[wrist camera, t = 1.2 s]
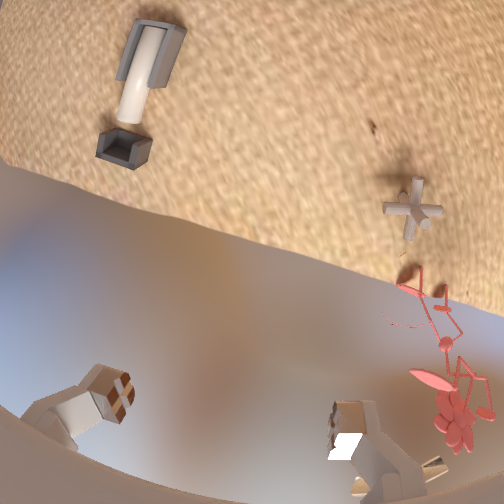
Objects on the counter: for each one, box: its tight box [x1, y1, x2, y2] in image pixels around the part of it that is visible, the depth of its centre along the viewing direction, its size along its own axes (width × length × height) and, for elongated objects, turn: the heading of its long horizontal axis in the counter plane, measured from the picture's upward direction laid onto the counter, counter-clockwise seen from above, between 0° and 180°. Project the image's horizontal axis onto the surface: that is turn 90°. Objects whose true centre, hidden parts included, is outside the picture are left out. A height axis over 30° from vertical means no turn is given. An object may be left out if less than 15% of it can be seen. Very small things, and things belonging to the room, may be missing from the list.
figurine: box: [392, 252, 496, 455], centre depth 40 cm, size 15×26×35 cm, turn 63°
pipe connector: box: [382, 176, 443, 241], centre depth 39 cm, size 10×10×10 cm
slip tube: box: [116, 26, 167, 124], centre depth 35 cm, size 15×4×4 cm, turn 158°
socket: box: [95, 128, 153, 170], centre depth 42 cm, size 4×8×5 cm, turn 68°
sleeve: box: [115, 18, 187, 89], centre depth 34 cm, size 10×7×5 cm, turn 158°
